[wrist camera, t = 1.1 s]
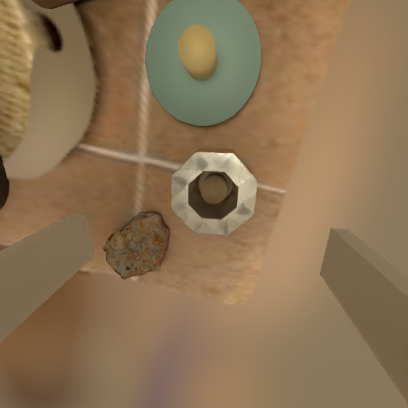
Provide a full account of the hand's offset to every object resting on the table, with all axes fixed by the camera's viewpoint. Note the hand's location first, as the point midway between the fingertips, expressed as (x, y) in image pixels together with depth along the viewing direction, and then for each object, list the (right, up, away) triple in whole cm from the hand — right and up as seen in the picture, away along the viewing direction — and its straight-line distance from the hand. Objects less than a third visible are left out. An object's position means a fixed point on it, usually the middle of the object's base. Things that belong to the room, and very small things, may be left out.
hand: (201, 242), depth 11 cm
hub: (0, +17, +12) cm, 21 cm away
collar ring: (+2, +5, +16) cm, 17 cm away
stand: (+2, +5, +16) cm, 17 cm away
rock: (-9, -3, +20) cm, 23 cm away
